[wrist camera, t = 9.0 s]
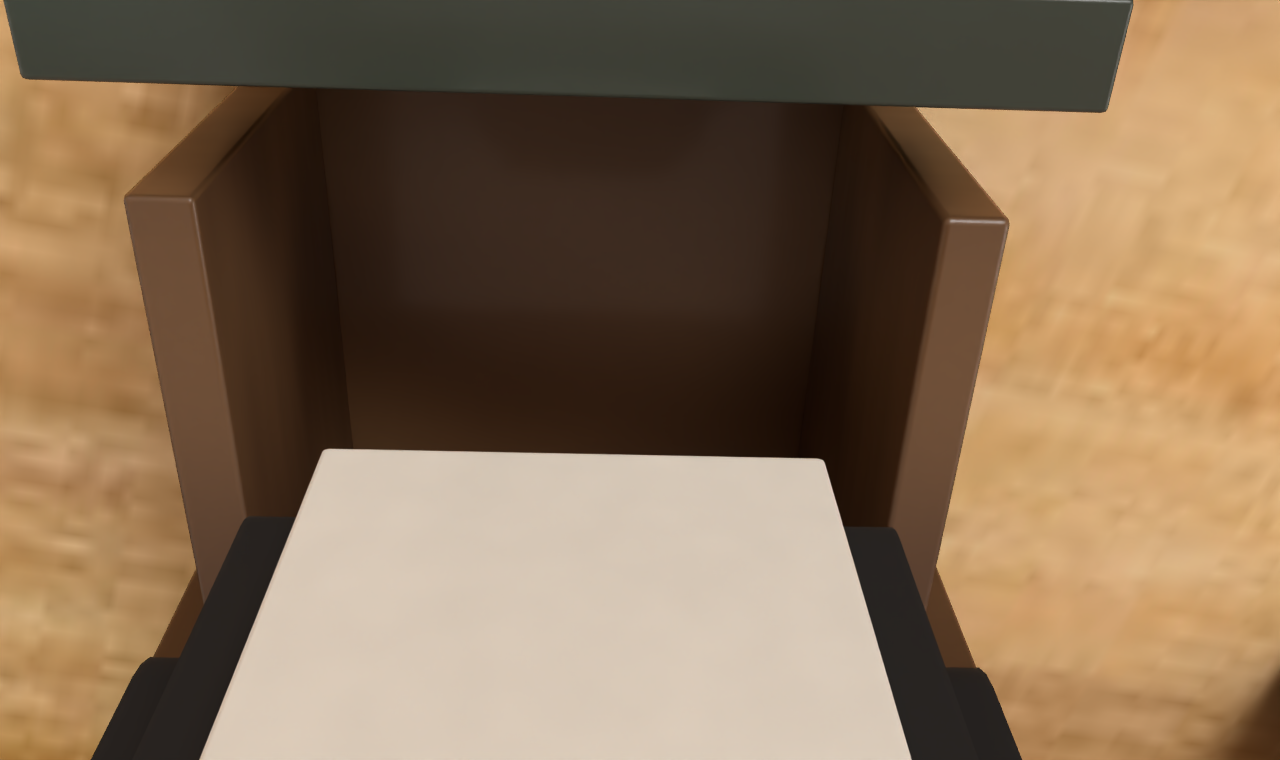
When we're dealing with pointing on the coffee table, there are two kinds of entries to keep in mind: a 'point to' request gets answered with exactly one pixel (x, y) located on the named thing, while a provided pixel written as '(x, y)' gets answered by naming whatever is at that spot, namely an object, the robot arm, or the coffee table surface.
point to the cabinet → (937, 612)
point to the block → (562, 615)
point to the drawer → (573, 230)
